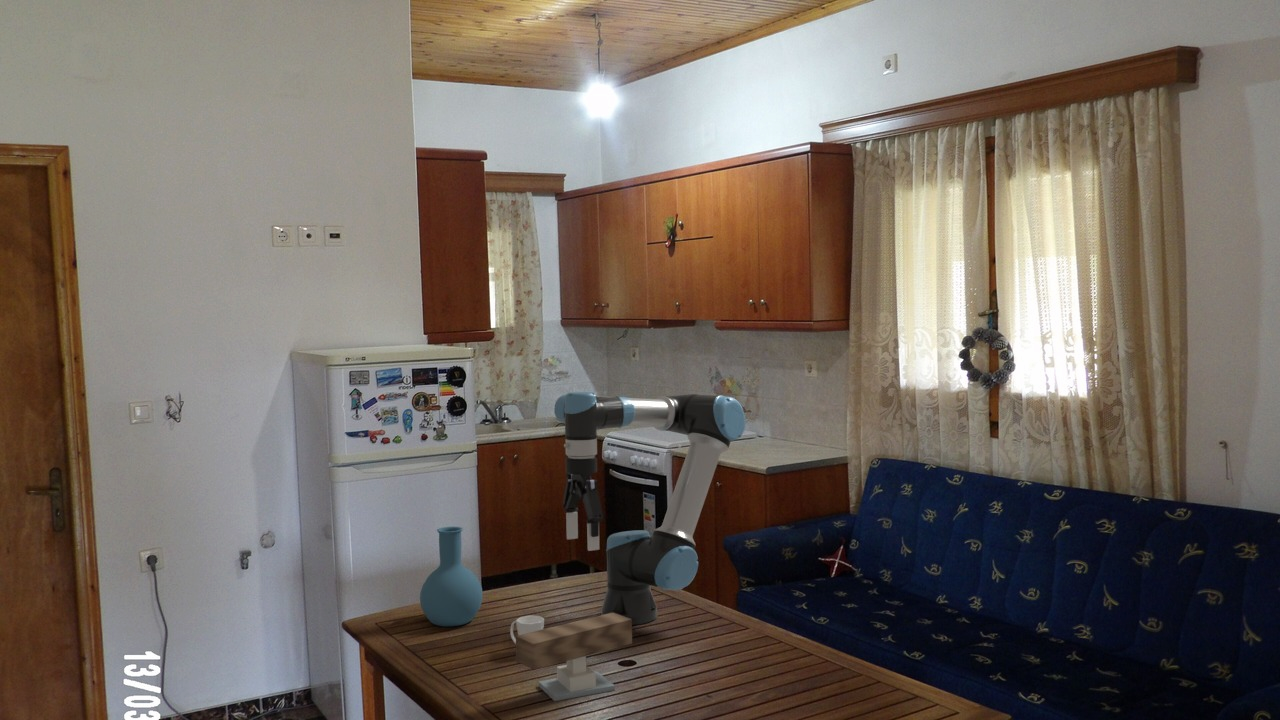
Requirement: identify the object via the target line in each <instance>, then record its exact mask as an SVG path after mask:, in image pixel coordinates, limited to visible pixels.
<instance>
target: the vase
mask: <svg viewBox="0 0 1280 720" xmlns="http://www.w3.org/2000/svg"><path fill="white" fill-rule="evenodd" d="M463 530H464V528H463V527H461V526H444V527H440V528H437V529H436V531H437V532H438V545H439V546H438V548H439V549H438V550H439V551H438V552H439V565H438V566H437V568H436V569H435V570H433V571H432V572H430V574H429V575H428V576H427V578H426V579H425V580H424V582H423V584H422V586H421V590H420V593H419V595H420V596H419V600H420V601H419V602H420V608H421V610H422V612H423V613H424V615H425V616H426V618H427V619H428V621H429V622H430V623H432V624H433V625H435V626H439V627H445V628H447V627H458V626H459V627H460V626H463V625H466V624H468V623H470V622H471V621H473V619H474V618H475V617H476V615H477V614H478V612H479V610H480V608H481V606H482V603H483V587H482V584H481V582H480V580H479V578H477V576H476V575H475V574H474V573H473V571H472V570H470V569H469V568H467V567H465V566H464V564H463V563H462V531H463Z"/></svg>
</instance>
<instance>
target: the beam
mask: <svg viewBox="0 0 1280 720" xmlns="http://www.w3.org/2000/svg"><path fill="white" fill-rule="evenodd" d="M515 639H516V644H515V661H516V662H517V663H519V664H520V665H523V666H525V667H527V668H529V669H531V670H532V671H535V670H538V669H539V670H540V669H543V668H546V667H549V666H554V665H557V664H561V663H565V662H566V661H569V660H573V659H576V658H580V657H584V656H586V657H587V656H588V657H589V656H590V655H594V654H599V653H602V652H605V651H610V650H613V649H618V648H620V647H624V646H628V645H629V646H630V645H632V644H633V625H632V619H630V618H627V617H624V616H621V615H619V614H616V613H608V614H604V615H598V616H592V617H589V618H585V619H580V620H579V619H578V620H576V621H572V622H567V623H563V624H559V625H556V626H555V625H554V626H552V627H546V628H543V629H542V630H538V631H534V632H530V633H526V634H521V635H518V634H517V635H515Z"/></svg>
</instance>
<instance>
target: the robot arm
mask: <svg viewBox="0 0 1280 720" xmlns="http://www.w3.org/2000/svg"><path fill="white" fill-rule="evenodd" d="M553 411H554V415H555V418H556V419H557V420H558V422H560V423H563V424H564V435H565V436H564V437H565V440H564V441H565V443H564V444H563V447H564V448H565V455H566V456H567V457H566V458H565V473H566V479H565V480H566V482H565V488H564V494H563V498H562V504H561V506H562V508H563V509H564V511H565V519H566V521H565V522H566V525H565V526H566V540H575V539H579V524H578V523H579V522H578V521H579V520H578V519H579V516H578V511H579V508H578V505H579V502H580V500H582V503H583V506H584V510H585V512H586V513H585V514H586V516H587V520H586V523H585V524H586V529H587V531H586V532H587V533H586V534H587V536H586V537H587V542H586V543H587V551H588V552H590V551H591V552H592V551H598V550H600V522H603V521H604V514H603V510H602V505H601V498H600V494H599V489H598V480H597V479H592V476H591V475H592V474H595V473H597V472H598V458H597V456H596V455H598V438H597V437H598V436H597V435H598V433H597V431H598V430H604V429H605V430H606V429H616V428H618V429H621V428H623V427H651V428H655V429H656V430H658V431H664V432H665V431H666V432H671V433H676V434H681V435H686V436H687V438H688V440H689V444H690V445H689V447H688V451H687V452H686V455H685V459H684V460H683V461H684V462H683V463H682V466H681V469H680V473H679V474H678V478H677V480H676V484H675V487H674V490H673V492H672V495H671V498H670V501H669V503H668V506H667V510H666V513H665V515H664V519H663V520H662V521H663V522H662V523H661V526H660V527H657V528H655V529H654V530H653V533H652V536H651V535H650V532H649V530H645V529H643V530H642V529H641V530H637V529H636V530H626V531H620V532H615V533H612V534H610V535H609V536H608V537H607V539H606V549H605V552H606V577H607V578H606V580H607V584H606V585H607V588H606V593H605V596H604V598H603V599H604V600H603V602H602V606H601V610H600V611H601V613H600V614H601V615H604V614H608V613H616V614H619V615H621V616H624V617H627V618H630V619H632V626H633V625H641V624H642V625H643V624H647V623H650V622H652V620H653V621H654V620H656V619H657V617H658V607H657V604H656V601H655V598H654V596H653V595H654V594H653V592H652V590H651V586H653V587H657V588H660V589H661V590H666V591H667V590H670V591H680V590H683V589H684V588H686V587H688V586H689V585H690V584H691V583H692V582H693V580H694V579H695V576H696V574H697V573H698V570H699V569H698V568H699V561H698V560H699V557H698V553H697V552H696V550H695V548H696V542H695V540H694V534H695V530H696V527H697V525H698V521H699V518H700V516H701V512H702V509H703V507H704V504H705V501H706V498H707V495H708V493H709V489H710V486H711V483H712V480H713V477H714V474H715V471H716V469H717V466H718V463H719V460H720V457H721V454H723V453H726V452H727V451H728V450H729V447H730V444H731V442H734V441H737V440H738V439H739V438H741V437H742V435H743V434H744V432H745V427H746V415H745V413H744V408H743V406H742V405H741V402H739V401H738V400H737V399H735V398H734V397H732V396H725V395H721V394H720V395H712V394H711V395H710V394H708V395H707V394H697V393H695V394H694V393H693V394H680V395H660V396H657V397H655V398H641V397H639V398H638V397H634V398H633V397H626V396H616V395H615V396H603V395H602V396H600V395H596V393H595V392H593V391H570V392H568V393H566V394H563V395H561V396H559V397H558V398H557V399H556V401H555V403H554V409H553Z"/></svg>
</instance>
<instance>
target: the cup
mask: <svg viewBox="0 0 1280 720" xmlns="http://www.w3.org/2000/svg"><path fill="white" fill-rule="evenodd" d="M515 624H516V625H515ZM514 626H515V627H516V630H517V635H521V634H526V633H530V632H534V631H538V630H542V629H545V628H544V627H545V618H543V617H542V616H541V615H531V614H530V615H529V614H528V615H525V616H520V617H518V618H517V619H516V620H514V621H512V622H511V624H510V628H509V629H510V632H509V633H510V638H511V640H512V641H513V643H514V644H515V645H516V636H515V634H514Z"/></svg>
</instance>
